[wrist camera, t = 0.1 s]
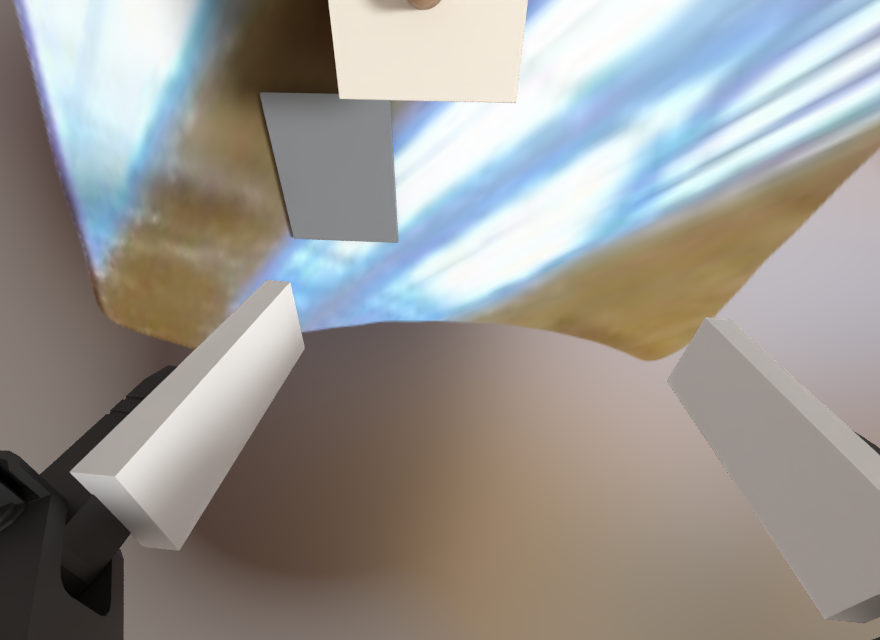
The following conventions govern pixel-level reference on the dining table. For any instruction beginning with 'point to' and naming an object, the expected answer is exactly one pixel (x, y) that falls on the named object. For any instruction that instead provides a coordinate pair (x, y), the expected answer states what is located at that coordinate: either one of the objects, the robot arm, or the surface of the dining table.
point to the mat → (334, 165)
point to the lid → (428, 49)
